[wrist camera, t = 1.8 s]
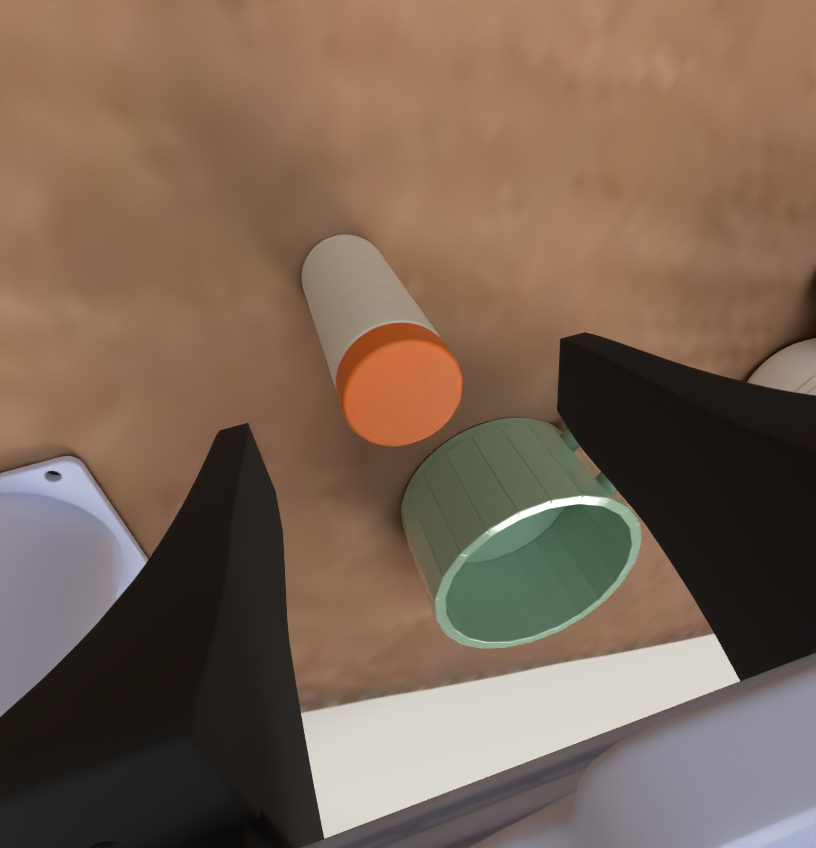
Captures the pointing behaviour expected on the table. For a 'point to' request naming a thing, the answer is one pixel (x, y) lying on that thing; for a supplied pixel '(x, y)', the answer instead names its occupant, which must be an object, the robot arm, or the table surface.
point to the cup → (790, 369)
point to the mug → (515, 533)
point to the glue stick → (378, 345)
